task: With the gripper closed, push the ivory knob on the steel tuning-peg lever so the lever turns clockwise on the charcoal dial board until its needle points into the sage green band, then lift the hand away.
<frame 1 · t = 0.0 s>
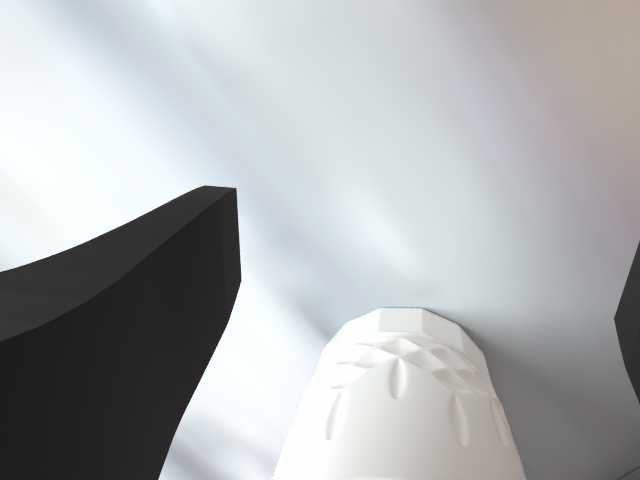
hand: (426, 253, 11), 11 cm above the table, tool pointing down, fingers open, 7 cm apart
white cup: (402, 377, 25), on the table
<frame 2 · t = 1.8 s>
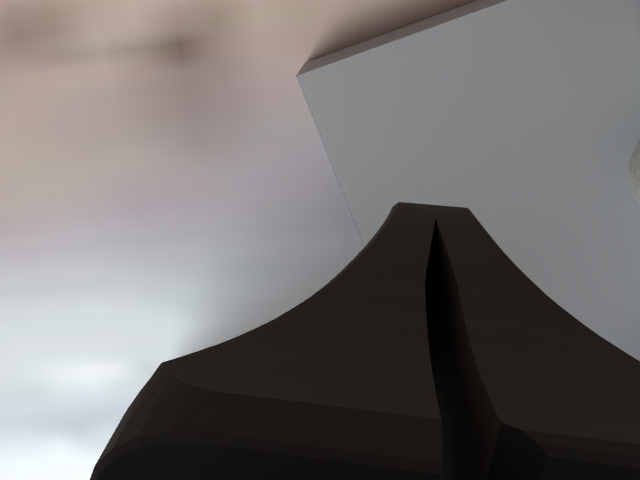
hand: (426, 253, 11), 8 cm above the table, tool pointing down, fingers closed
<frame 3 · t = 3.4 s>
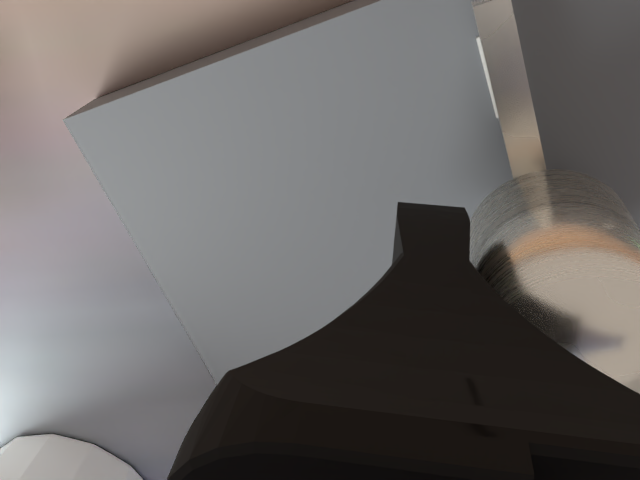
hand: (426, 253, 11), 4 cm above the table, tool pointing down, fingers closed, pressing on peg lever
dial board: (607, 366, 16), on the table
peg lever: (583, 394, 12), point 4 cm above the table, hinge at -0.8°, touching gripper
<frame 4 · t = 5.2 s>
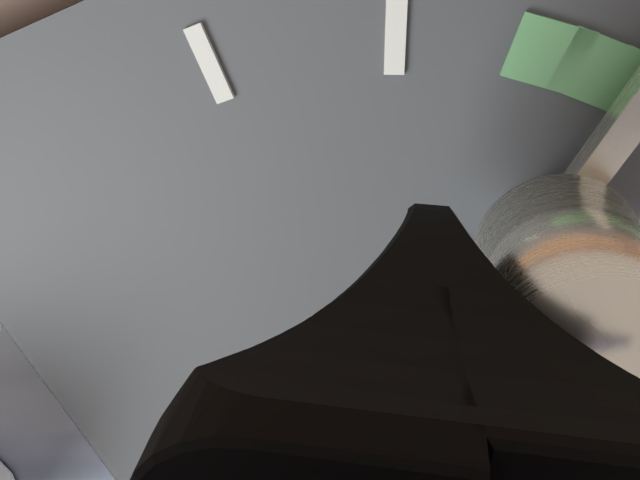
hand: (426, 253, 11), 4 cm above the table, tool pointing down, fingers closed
dial board: (394, 343, 17), on the table
peg lever: (485, 382, 12), point 4 cm above the table, hinge at -44.1°, touching gripper
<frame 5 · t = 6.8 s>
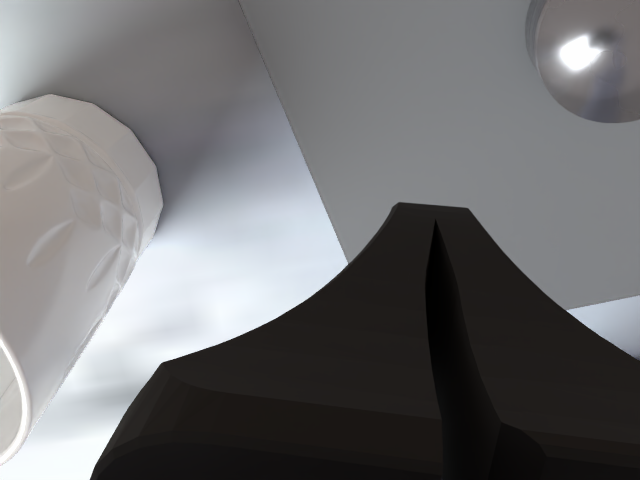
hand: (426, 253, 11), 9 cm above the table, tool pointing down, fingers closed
white cup: (79, 180, 23), on the table
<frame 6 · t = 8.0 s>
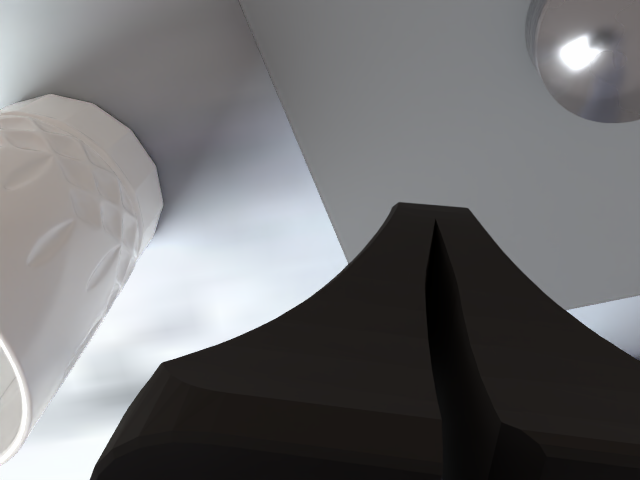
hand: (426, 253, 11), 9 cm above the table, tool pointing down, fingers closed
white cup: (79, 180, 23), on the table
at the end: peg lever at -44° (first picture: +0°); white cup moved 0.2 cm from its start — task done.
